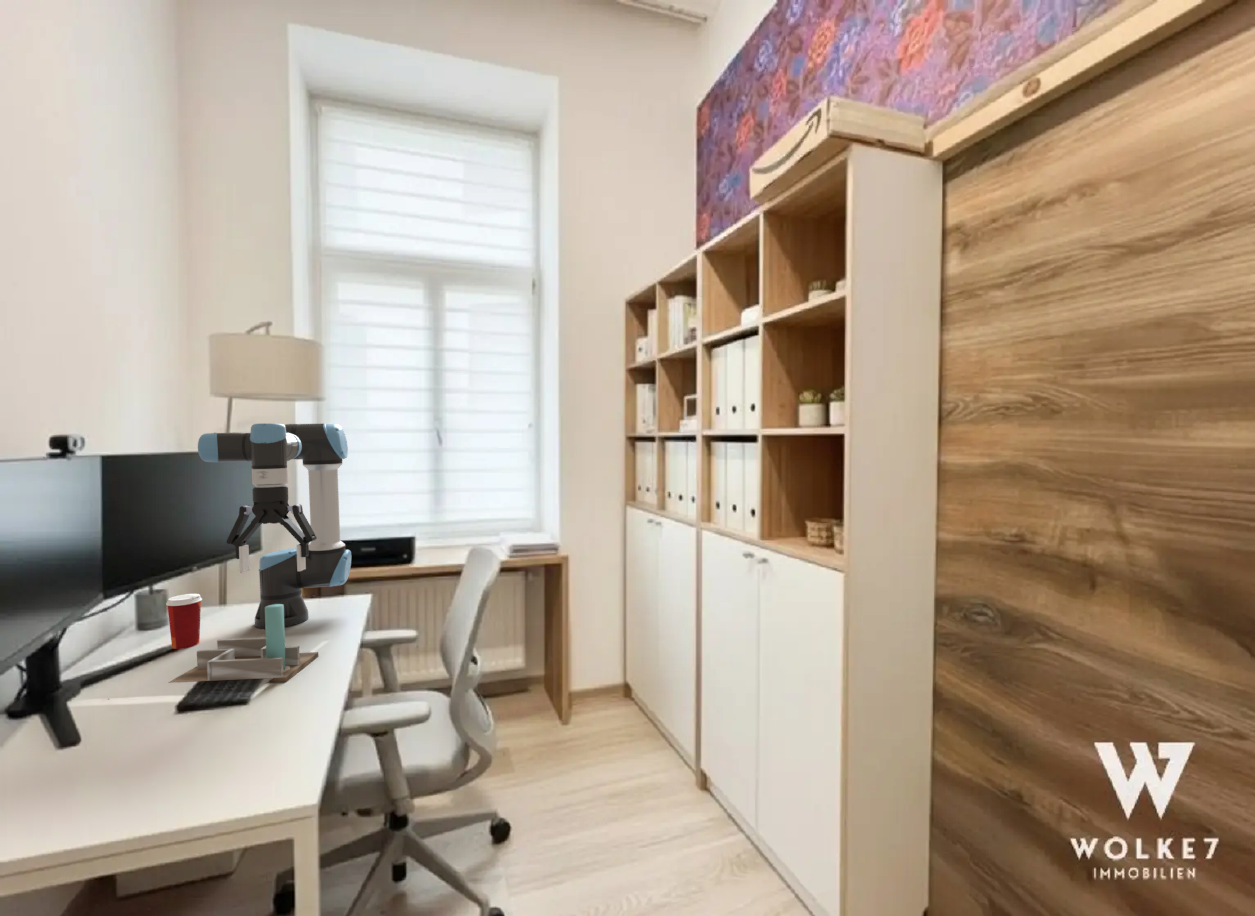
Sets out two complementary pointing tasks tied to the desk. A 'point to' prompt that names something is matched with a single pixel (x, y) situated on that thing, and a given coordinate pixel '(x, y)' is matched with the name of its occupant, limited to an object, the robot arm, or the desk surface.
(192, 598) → the coffee cup
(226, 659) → the slot board
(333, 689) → the desk surface
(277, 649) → the teal dowel
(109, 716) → the desk surface
